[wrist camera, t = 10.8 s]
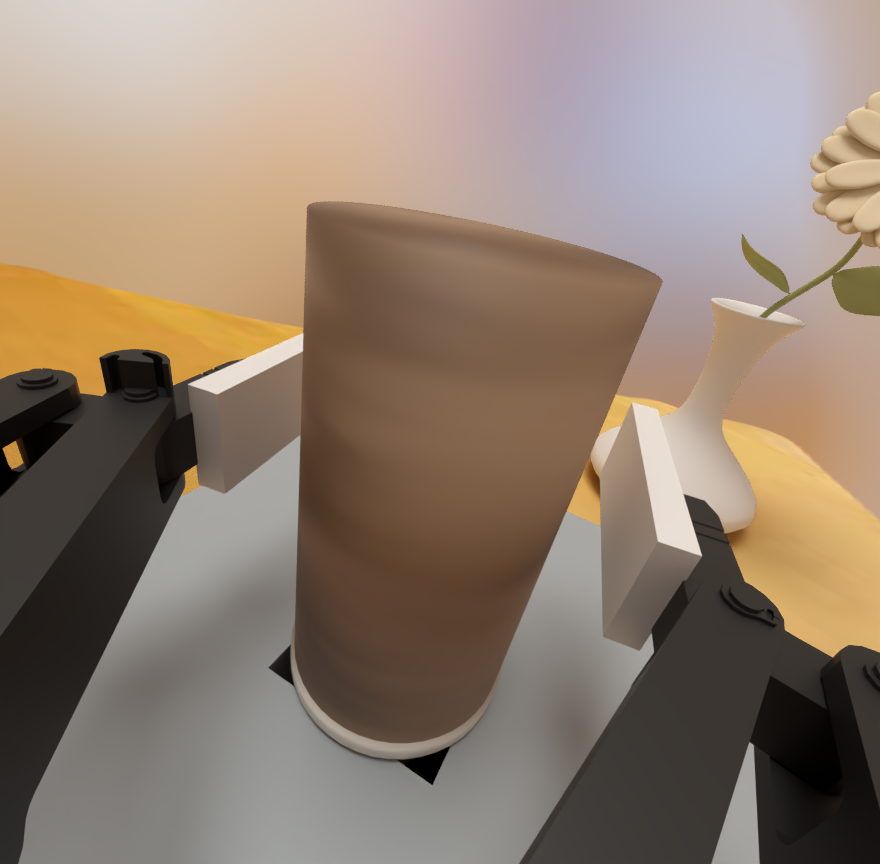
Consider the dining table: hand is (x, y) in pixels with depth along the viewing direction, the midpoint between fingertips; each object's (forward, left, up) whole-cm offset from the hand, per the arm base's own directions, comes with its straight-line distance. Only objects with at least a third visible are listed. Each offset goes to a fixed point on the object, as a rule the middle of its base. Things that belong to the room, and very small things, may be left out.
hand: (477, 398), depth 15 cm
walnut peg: (+4, -3, -11) cm, 12 cm away
